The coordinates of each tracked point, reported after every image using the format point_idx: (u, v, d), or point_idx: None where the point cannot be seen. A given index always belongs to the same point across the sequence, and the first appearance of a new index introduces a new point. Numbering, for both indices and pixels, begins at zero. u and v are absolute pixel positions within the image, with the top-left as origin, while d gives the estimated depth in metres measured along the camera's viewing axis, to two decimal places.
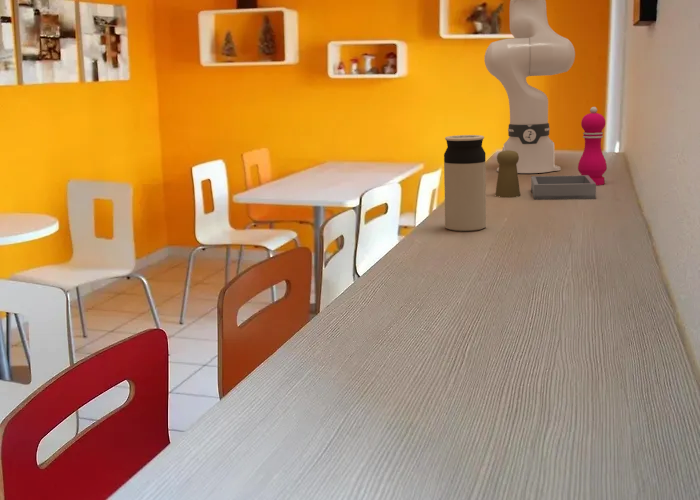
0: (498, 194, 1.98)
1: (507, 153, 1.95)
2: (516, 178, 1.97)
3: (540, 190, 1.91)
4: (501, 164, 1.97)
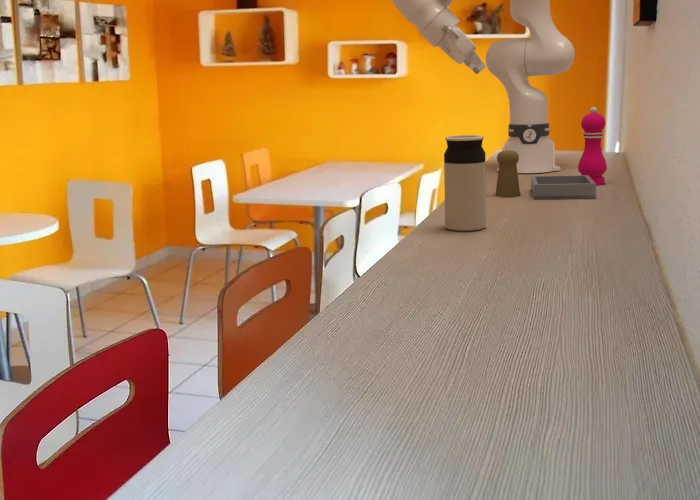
0: (498, 194, 1.98)
1: (507, 153, 1.95)
2: (516, 178, 1.97)
3: (540, 190, 1.91)
4: (501, 164, 1.97)
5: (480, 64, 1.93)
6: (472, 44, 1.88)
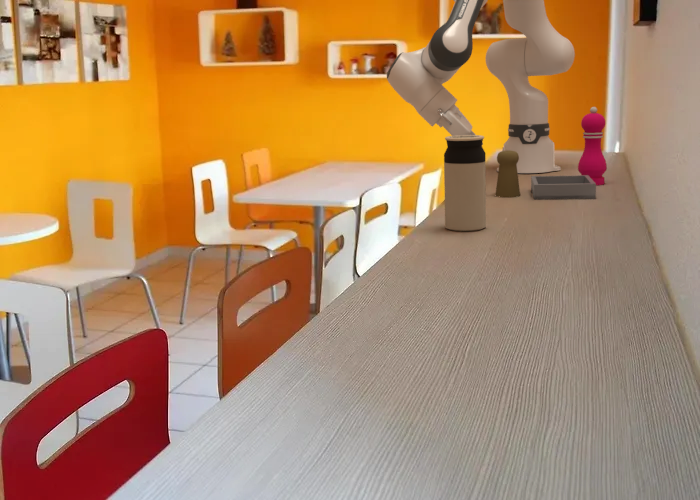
0: (498, 194, 1.98)
1: (507, 153, 1.95)
2: (516, 178, 1.97)
3: (540, 190, 1.91)
4: (501, 164, 1.97)
5: None
6: (465, 129, 1.88)
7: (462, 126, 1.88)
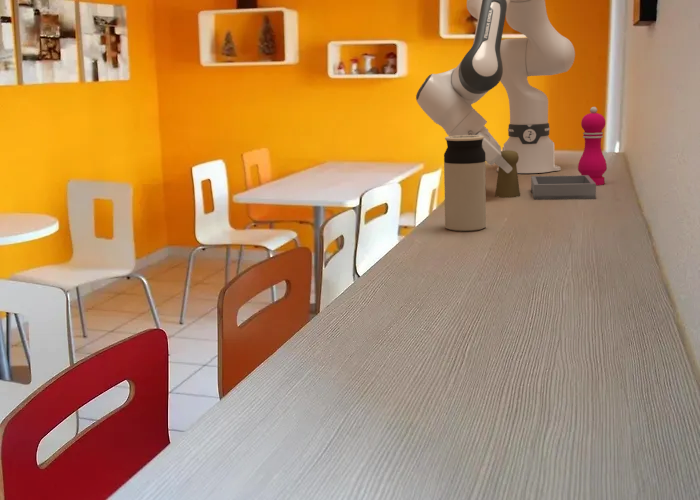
0: (498, 194, 1.98)
1: (507, 153, 1.95)
2: (516, 178, 1.97)
3: (540, 190, 1.91)
4: None
5: (507, 167, 1.94)
6: (496, 152, 1.88)
7: (493, 149, 1.88)
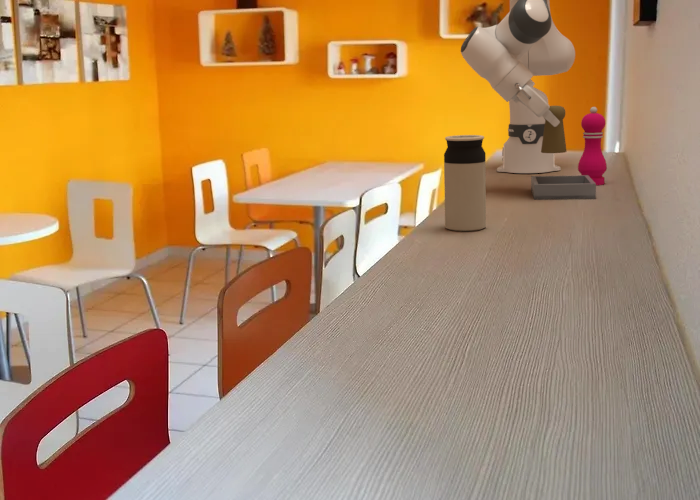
0: (544, 150, 1.95)
1: (554, 108, 1.92)
2: (563, 134, 1.94)
3: (540, 190, 1.91)
4: None
5: (554, 120, 1.91)
6: (545, 104, 1.85)
7: (542, 100, 1.85)
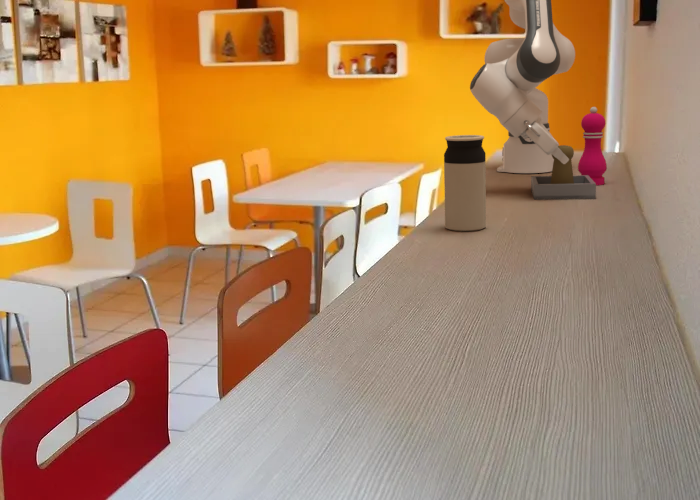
0: None
1: (562, 148, 1.94)
2: (571, 173, 1.95)
3: (540, 190, 1.91)
4: (556, 159, 1.95)
5: (563, 157, 1.91)
6: (554, 142, 1.86)
7: (551, 138, 1.86)
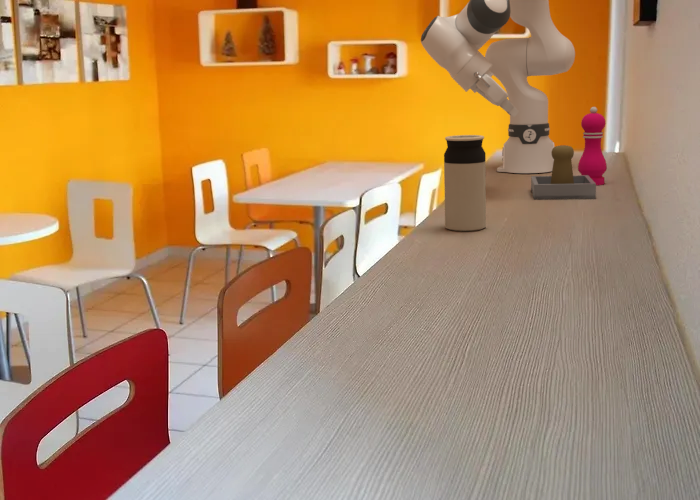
0: None
1: (562, 148, 1.94)
2: (571, 173, 1.95)
3: (540, 190, 1.91)
4: (556, 159, 1.95)
5: (513, 110, 1.91)
6: (504, 92, 1.86)
7: (500, 89, 1.86)
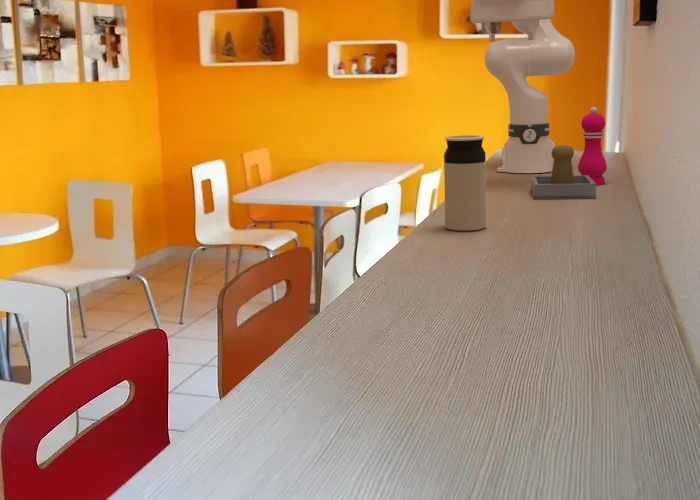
0: None
1: (562, 148, 1.94)
2: (571, 173, 1.95)
3: (540, 190, 1.91)
4: (556, 159, 1.95)
5: None
6: None
7: None
